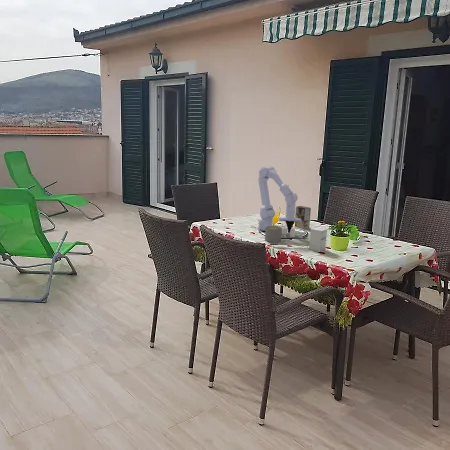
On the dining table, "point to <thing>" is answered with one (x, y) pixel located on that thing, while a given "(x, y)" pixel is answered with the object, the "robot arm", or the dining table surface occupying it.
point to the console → (297, 235)
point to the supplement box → (317, 239)
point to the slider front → (292, 233)
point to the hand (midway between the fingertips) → (289, 232)
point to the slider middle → (284, 230)
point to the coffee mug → (273, 234)
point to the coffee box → (303, 217)
